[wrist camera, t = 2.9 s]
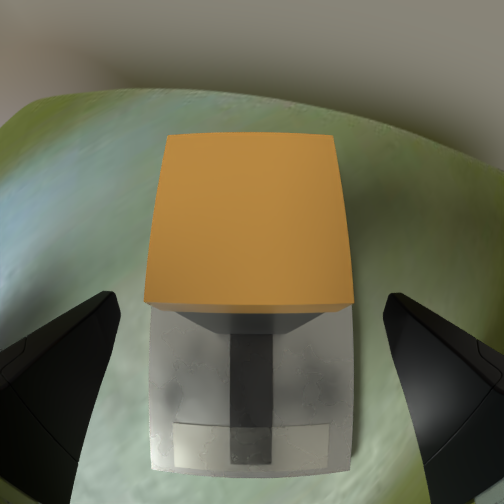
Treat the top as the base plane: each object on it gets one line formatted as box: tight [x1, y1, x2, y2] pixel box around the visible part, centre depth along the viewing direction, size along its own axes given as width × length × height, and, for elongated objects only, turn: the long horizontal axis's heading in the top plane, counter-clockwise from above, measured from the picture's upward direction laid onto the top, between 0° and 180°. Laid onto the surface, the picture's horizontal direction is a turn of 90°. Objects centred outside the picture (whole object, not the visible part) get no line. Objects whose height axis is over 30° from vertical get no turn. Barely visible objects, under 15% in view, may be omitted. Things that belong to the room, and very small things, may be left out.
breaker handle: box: [144, 132, 354, 334], centre depth 12 cm, size 4×4×11 cm
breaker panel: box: [149, 305, 354, 478], centre depth 16 cm, size 18×12×4 cm, turn 0°
